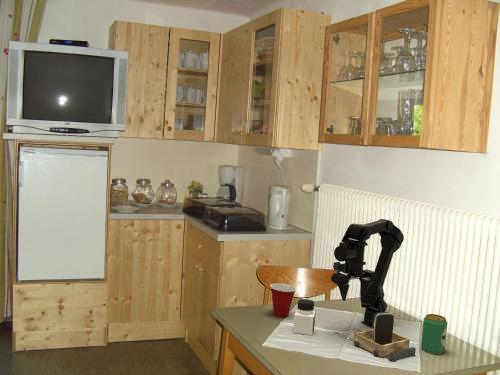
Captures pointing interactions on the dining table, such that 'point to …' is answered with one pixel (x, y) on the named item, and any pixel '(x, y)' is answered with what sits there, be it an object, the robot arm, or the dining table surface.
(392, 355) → the rails
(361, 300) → the robot arm
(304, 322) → the medicine bottle
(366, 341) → the shallow wooden tray
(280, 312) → the plastic cup
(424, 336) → the beverage can
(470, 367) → the dining table surface
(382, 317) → the battery charger
